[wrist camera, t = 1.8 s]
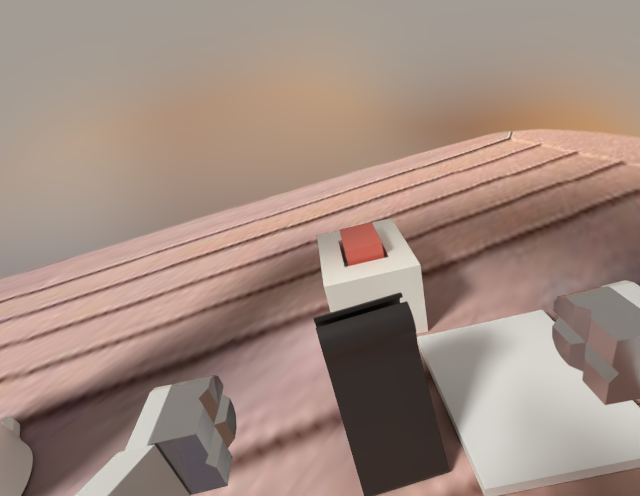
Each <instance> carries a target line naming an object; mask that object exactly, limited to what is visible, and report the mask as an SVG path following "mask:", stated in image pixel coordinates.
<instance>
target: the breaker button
mask: <svg viewBox="0 0 640 496" xmlns="http://www.w3.org/2000/svg"><path fill="white" fill-rule="evenodd" d="M340 235H341V239H342V244H343V248H344V252H345V256H346V260H347V264H348V266H351V265H356V264H360V263H364V262H369V261H373V260H377V259H382V258H384V253H383V247H382V242H381V240H380V238H379V236H378V234H377V232H376V230H375V228H374V226H373V224H372V222H370V223H366V224H362V225H358V226H353V227H349V228H345V229H341V230H340Z"/></svg>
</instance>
